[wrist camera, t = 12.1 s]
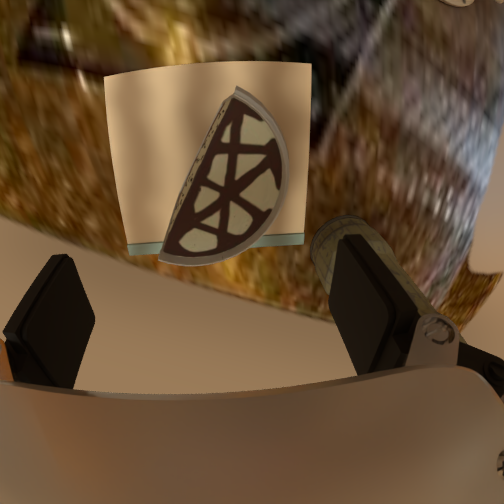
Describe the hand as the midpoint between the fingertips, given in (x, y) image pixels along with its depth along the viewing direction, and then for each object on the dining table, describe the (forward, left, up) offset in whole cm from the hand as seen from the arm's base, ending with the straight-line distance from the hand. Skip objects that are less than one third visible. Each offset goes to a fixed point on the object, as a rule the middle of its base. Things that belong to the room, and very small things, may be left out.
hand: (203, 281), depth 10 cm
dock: (0, +1, -22) cm, 22 cm away
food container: (-2, +1, -19) cm, 19 cm away
